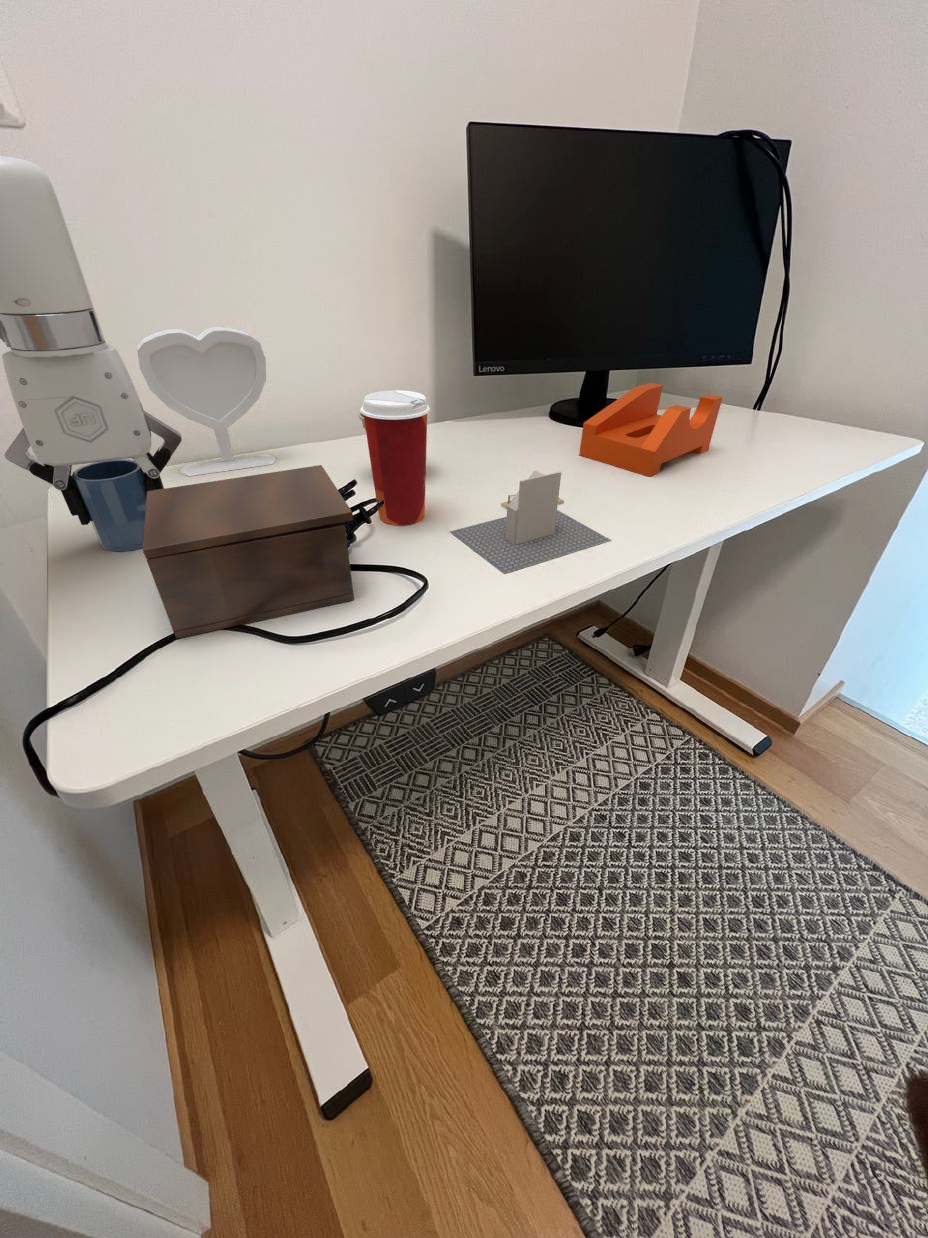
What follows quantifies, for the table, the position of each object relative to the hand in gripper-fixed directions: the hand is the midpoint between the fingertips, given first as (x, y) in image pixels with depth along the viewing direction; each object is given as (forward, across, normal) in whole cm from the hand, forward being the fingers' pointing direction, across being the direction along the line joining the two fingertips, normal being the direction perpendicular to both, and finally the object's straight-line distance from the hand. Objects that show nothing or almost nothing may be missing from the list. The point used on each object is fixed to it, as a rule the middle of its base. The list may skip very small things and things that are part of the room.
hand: (123, 513), depth 60 cm
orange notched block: (+3, +74, +2) cm, 74 cm away
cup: (+3, 0, 0) cm, 3 cm away
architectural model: (+3, +42, -17) cm, 45 cm away
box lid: (-5, +12, -16) cm, 21 cm away
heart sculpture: (+3, +12, +21) cm, 24 cm away
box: (+3, +12, -16) cm, 20 cm away
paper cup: (+3, +30, -6) cm, 31 cm away
